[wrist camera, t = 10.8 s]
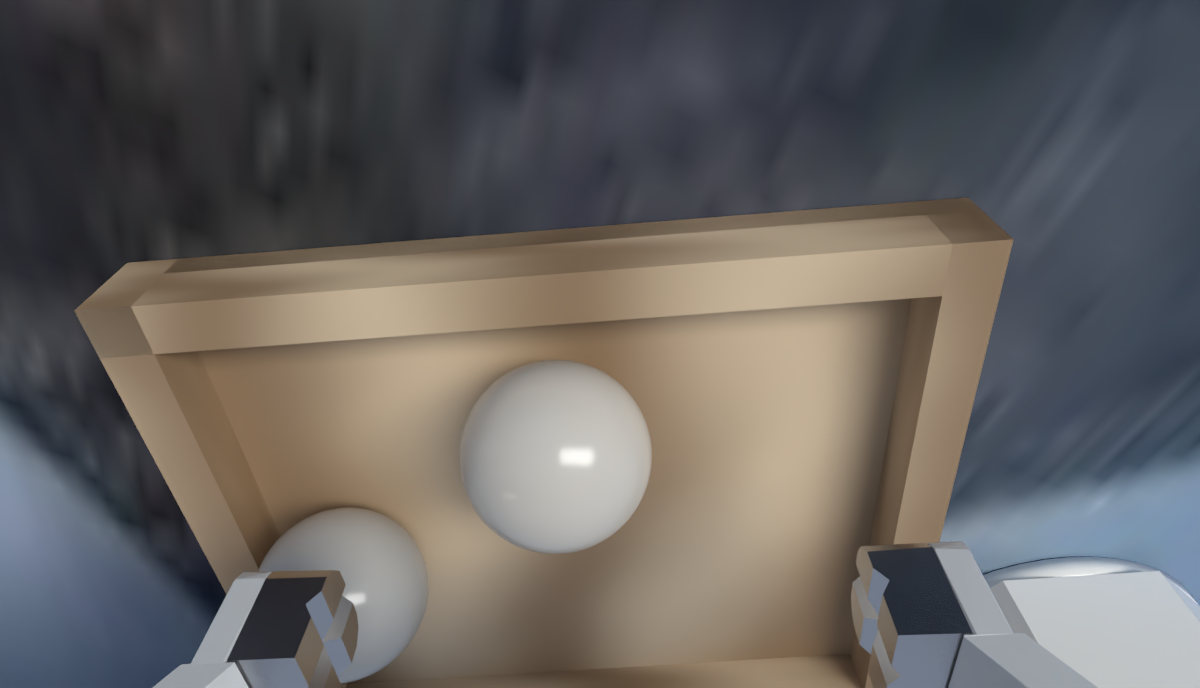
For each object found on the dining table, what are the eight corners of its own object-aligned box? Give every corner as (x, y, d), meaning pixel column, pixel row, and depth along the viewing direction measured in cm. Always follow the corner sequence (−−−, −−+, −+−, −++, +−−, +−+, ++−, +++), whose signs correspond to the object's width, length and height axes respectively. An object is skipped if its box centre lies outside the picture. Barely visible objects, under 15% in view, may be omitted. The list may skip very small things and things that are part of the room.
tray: (327, 686, 22) (308, 747, 21) (127, 263, 15) (74, 310, 13) (875, 654, 22) (897, 714, 20) (967, 197, 14) (1013, 239, 13)
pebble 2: (486, 466, 17) (464, 602, 14) (458, 330, 15) (424, 453, 12) (649, 456, 17) (663, 589, 14) (641, 316, 15) (655, 437, 12)
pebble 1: (311, 584, 19) (258, 724, 16) (264, 478, 17) (194, 615, 14) (453, 575, 19) (427, 715, 16) (423, 467, 17) (387, 603, 14)
